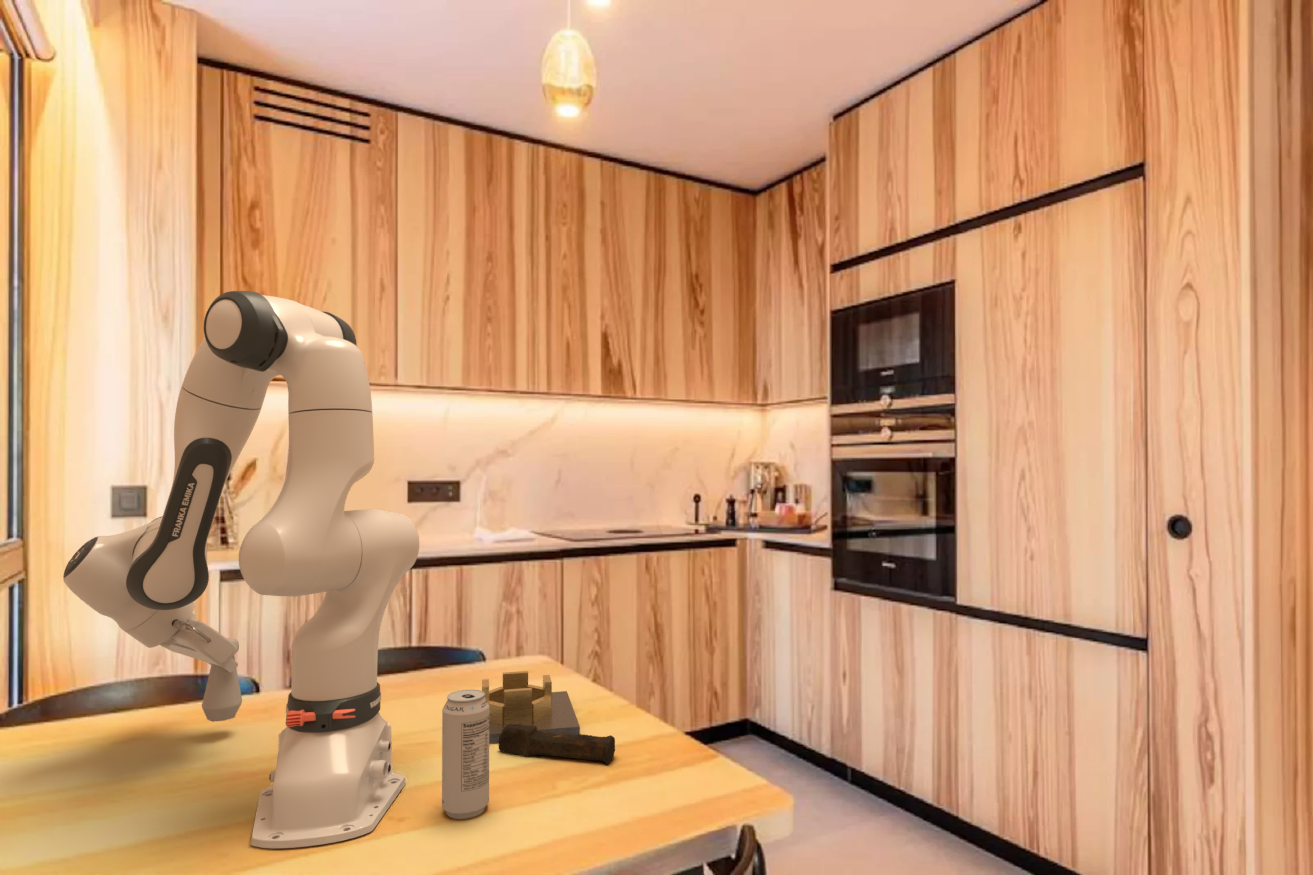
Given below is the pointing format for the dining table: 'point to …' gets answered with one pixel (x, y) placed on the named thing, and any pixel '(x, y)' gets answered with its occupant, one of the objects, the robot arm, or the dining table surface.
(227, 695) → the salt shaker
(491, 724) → the castellated collar
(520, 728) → the dark brown textured rod
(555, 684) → the dining table surface
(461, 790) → the energy drink can
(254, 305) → the robot arm
